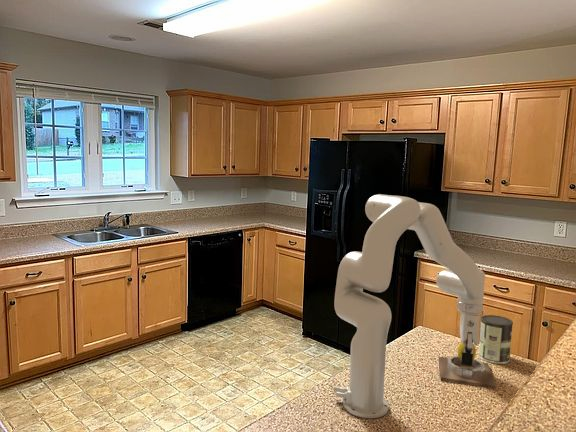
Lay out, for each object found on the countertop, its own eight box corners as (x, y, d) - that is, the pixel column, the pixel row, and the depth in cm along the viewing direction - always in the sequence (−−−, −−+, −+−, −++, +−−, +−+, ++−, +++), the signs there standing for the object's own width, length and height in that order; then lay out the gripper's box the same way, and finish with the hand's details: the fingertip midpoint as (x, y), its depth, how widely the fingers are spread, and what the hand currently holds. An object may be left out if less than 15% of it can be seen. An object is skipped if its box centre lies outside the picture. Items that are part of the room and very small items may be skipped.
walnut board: (440, 380, 140) (440, 377, 140) (438, 359, 156) (438, 356, 156) (495, 388, 136) (495, 385, 136) (487, 366, 151) (488, 363, 151)
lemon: (476, 367, 142) (478, 343, 141) (458, 365, 143) (460, 342, 142) (472, 360, 148) (474, 337, 147) (455, 358, 149) (457, 335, 148)
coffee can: (504, 353, 162) (507, 315, 161) (513, 365, 152) (517, 326, 151) (474, 350, 164) (477, 313, 162) (482, 362, 154) (485, 323, 152)
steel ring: (448, 375, 142) (449, 367, 142) (446, 360, 153) (447, 353, 152) (485, 380, 139) (486, 372, 139) (481, 365, 150) (481, 358, 149)
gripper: (486, 316, 134) (481, 374, 136) (478, 300, 150) (474, 351, 152) (459, 313, 136) (455, 370, 138) (455, 298, 152) (451, 348, 155)
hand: (465, 360), depth 145 cm, fingers closed on lemon, 5 cm apart
